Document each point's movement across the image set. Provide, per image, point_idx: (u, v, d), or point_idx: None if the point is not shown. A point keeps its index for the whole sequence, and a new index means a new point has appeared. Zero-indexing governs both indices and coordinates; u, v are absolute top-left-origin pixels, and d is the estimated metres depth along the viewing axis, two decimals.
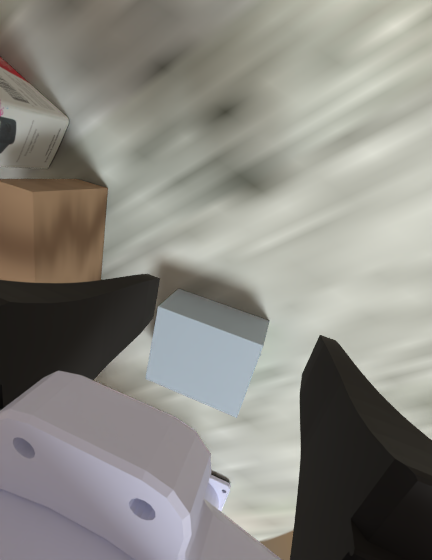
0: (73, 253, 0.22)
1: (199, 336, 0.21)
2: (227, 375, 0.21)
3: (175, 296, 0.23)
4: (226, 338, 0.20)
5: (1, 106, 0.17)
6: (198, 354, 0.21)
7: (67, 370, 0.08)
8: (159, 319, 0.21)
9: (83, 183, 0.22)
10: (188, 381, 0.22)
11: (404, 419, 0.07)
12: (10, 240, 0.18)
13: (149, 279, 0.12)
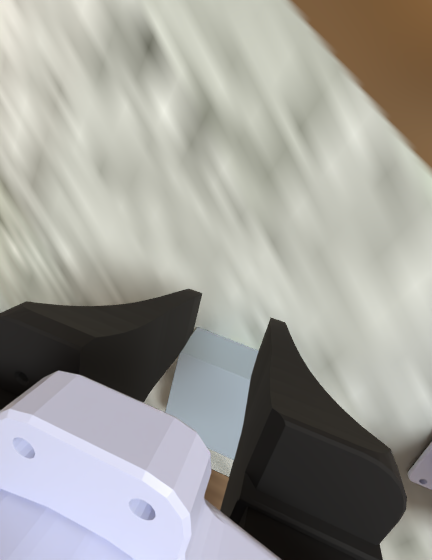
0: None
1: (183, 402, 0.22)
2: (219, 387, 0.21)
3: None
4: (179, 380, 0.22)
5: None
6: (201, 407, 0.22)
7: None
8: None
9: None
10: (234, 424, 0.21)
11: (321, 387, 0.07)
12: None
13: (194, 295, 0.11)
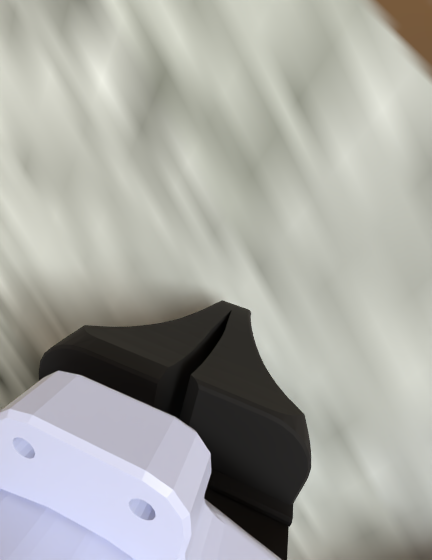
0: None
1: None
2: None
3: None
4: None
5: None
6: None
7: None
8: None
9: None
10: None
11: (264, 365, 0.07)
12: None
13: (230, 308, 0.11)
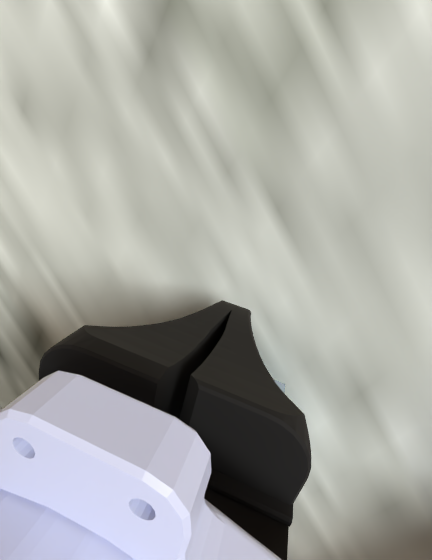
0: None
1: None
2: None
3: None
4: None
5: None
6: None
7: (175, 418, 0.08)
8: None
9: None
10: None
11: (264, 365, 0.07)
12: None
13: (230, 308, 0.11)
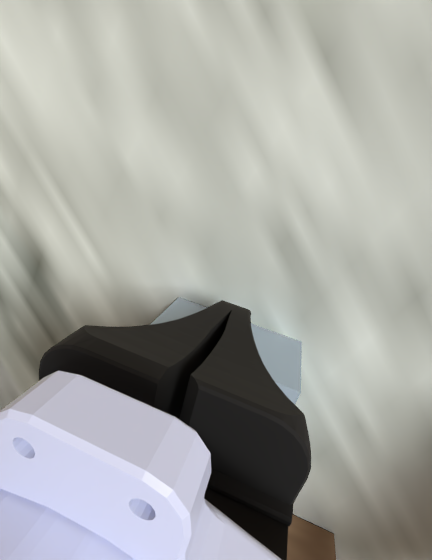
0: None
1: None
2: None
3: None
4: None
5: None
6: None
7: None
8: None
9: None
10: None
11: None
12: None
13: (230, 308, 0.11)
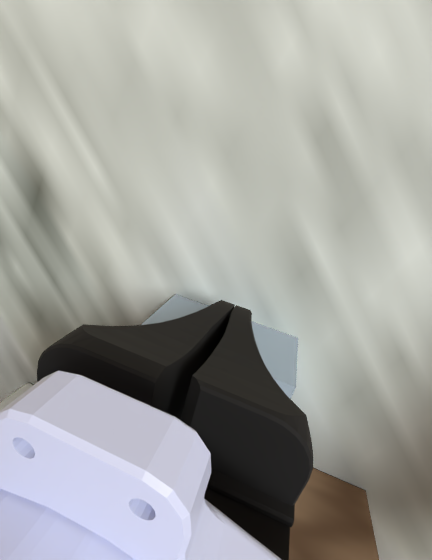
0: None
1: None
2: None
3: None
4: None
5: None
6: None
7: None
8: None
9: None
10: None
11: None
12: None
13: (229, 307, 0.11)
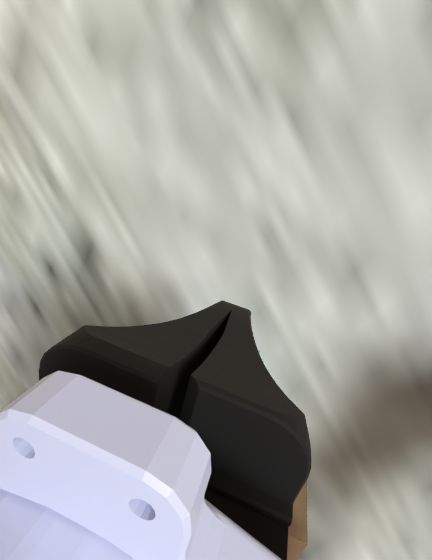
0: None
1: None
2: None
3: None
4: None
5: None
6: None
7: None
8: None
9: None
10: None
11: (264, 365, 0.07)
12: None
13: (230, 308, 0.11)
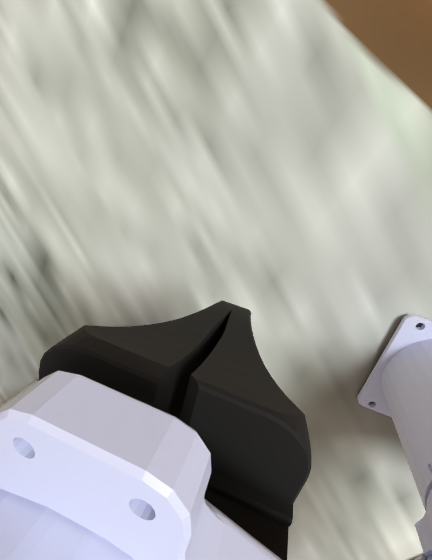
0: None
1: None
2: None
3: None
4: None
5: None
6: None
7: None
8: None
9: None
10: None
11: (264, 365, 0.07)
12: None
13: (230, 308, 0.11)
